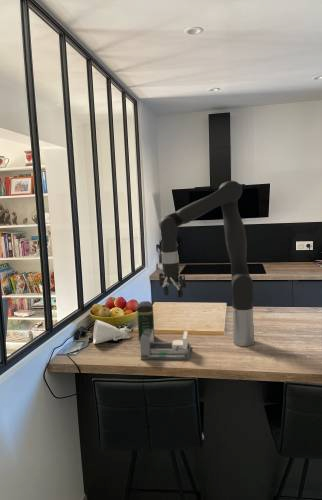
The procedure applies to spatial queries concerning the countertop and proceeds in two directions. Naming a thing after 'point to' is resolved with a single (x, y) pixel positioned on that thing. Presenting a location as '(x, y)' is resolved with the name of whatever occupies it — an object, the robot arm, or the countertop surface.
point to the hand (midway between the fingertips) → (173, 296)
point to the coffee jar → (145, 317)
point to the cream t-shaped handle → (181, 342)
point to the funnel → (108, 332)
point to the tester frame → (160, 349)
